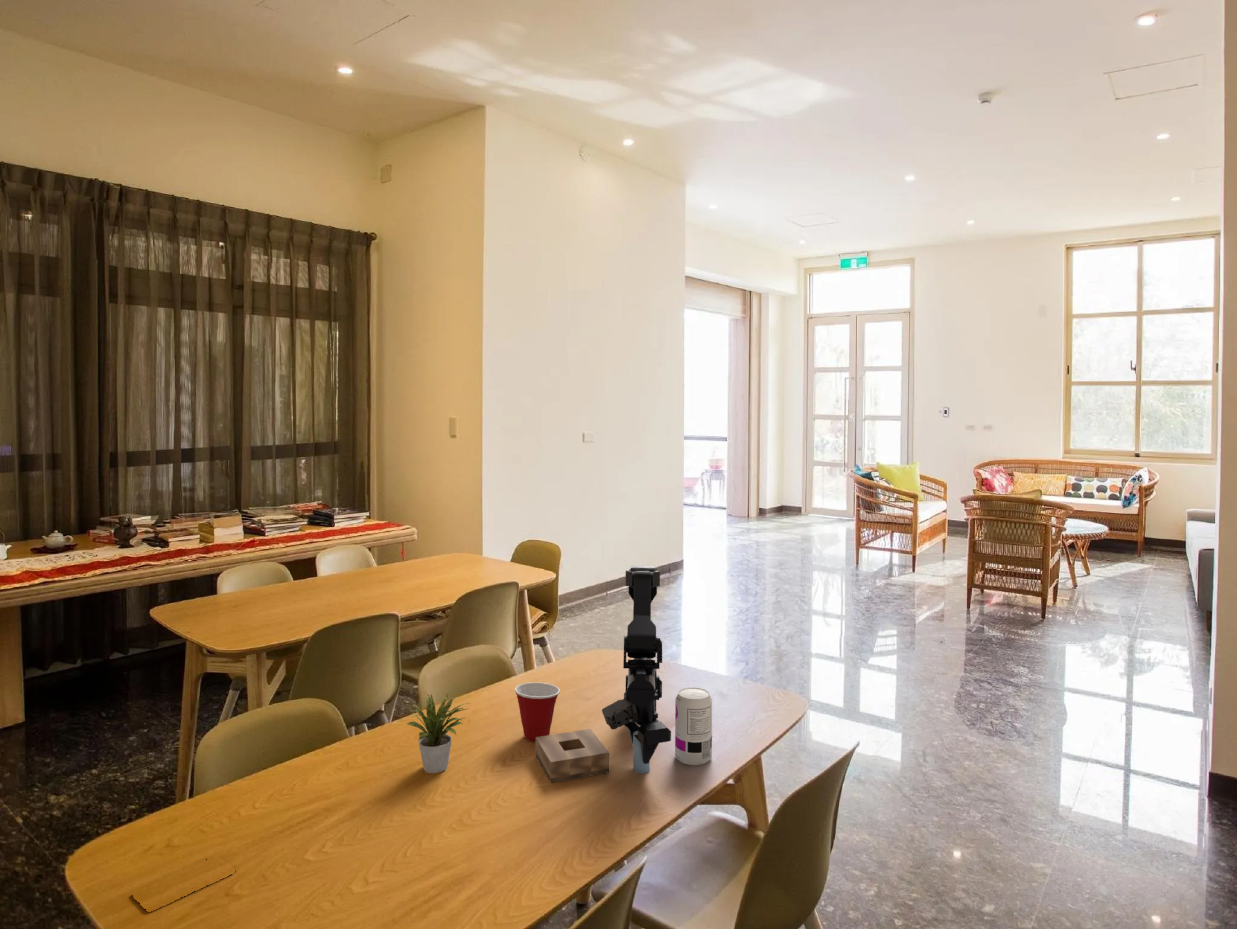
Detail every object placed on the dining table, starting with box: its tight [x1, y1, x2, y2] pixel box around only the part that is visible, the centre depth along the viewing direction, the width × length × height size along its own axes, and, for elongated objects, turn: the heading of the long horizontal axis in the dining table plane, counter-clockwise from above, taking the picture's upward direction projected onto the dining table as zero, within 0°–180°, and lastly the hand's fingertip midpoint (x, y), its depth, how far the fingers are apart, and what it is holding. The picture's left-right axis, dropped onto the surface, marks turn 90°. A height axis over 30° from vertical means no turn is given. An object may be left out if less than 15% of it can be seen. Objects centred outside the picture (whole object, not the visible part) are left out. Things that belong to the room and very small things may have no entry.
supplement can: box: [674, 687, 713, 766], centre depth 174 cm, size 8×8×15 cm
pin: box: [632, 731, 651, 775], centre depth 169 cm, size 4×4×8 cm
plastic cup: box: [514, 681, 561, 743], centre depth 185 cm, size 11×11×12 cm
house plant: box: [406, 692, 470, 774], centre depth 168 cm, size 14×14×16 cm
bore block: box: [535, 728, 610, 784], centre depth 171 cm, size 13×13×4 cm
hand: (641, 758), depth 169 cm, fingers open, 5 cm apart
